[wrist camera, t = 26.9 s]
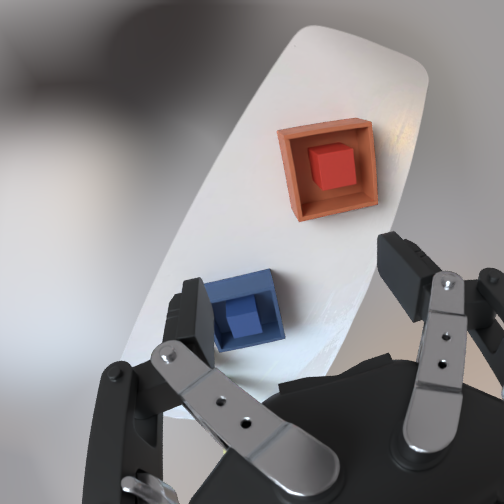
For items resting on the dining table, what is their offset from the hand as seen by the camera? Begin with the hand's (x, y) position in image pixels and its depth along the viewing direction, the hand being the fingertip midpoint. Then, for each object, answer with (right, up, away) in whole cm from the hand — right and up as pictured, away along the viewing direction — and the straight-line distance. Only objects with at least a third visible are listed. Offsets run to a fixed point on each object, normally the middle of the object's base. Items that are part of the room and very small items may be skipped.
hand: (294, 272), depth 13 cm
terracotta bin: (+8, +13, +26) cm, 30 cm away
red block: (+8, +13, +25) cm, 30 cm away
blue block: (-3, -8, +36) cm, 37 cm away
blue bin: (-3, -8, +36) cm, 37 cm away
